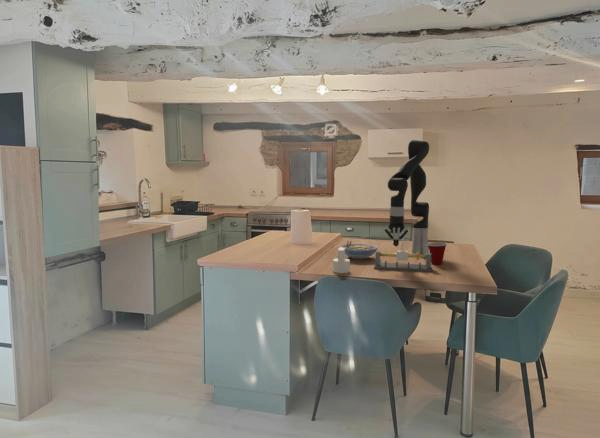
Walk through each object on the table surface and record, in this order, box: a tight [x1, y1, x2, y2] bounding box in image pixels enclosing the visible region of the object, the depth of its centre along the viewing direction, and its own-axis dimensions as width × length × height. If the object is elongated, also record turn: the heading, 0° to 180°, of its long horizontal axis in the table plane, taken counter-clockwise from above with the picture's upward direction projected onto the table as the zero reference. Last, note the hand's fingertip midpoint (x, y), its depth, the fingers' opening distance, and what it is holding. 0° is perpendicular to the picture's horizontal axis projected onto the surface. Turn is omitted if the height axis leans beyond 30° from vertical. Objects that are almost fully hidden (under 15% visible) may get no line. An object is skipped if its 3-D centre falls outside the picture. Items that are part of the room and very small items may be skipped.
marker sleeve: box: [396, 237, 409, 262], centre depth 244 cm, size 6×5×12 cm
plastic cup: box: [427, 241, 448, 266], centre depth 255 cm, size 11×11×12 cm
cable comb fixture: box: [373, 250, 433, 273], centre depth 244 cm, size 30×12×9 cm, turn 77°
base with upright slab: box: [332, 246, 351, 274], centre depth 237 cm, size 9×9×12 cm
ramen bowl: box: [339, 241, 379, 260], centre depth 270 cm, size 25×23×8 cm
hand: (395, 246), depth 244 cm, fingers closed
